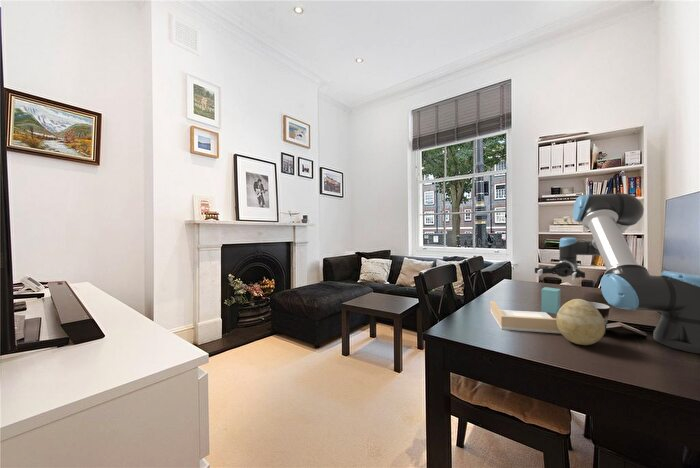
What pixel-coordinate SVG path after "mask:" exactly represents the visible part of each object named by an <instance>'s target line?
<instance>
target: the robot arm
mask: <svg viewBox="0 0 700 468" xmlns="http://www.w3.org/2000/svg"><path fill="white" fill-rule="evenodd" d="M644 209H645V208H644V205H643V203H642V202H641V200H640V199H638V198H637V197H636V196H634V195H632V194H629V193H625V192H621V193H619V192H618V193H602V194H601V193H600V194H599V193H598V194H583V195H579V196H577V198H576V199H575V201H574V204H573V211H572V212H573V213H572V217H573V221H575V222H577V223H582V225H583V227H584V228H585V229H586V230H587V229H588V230H589V232H590V233H591V236H592V240H588V241H587V240H585V241H584V240H578V238H577V237H561V238H560V239H559V244H558V247H559V259H558V260H559V261H558V263H556V264H555V265H554V266H551V267H550V266H548V265H546V266H543V267H541V266H540V267H535V268H534V274H536V275H537V277H540V276H542V275H544V274H552V275H557V276H559V277H563V278H567V277H569V276H571V280H572V281H575V280H576V279H580V278H582V279H586V272H585V271H582V270H580V269H579V268H578V266H579V264H578V261H577V259H578V257H577V256H600V257H601V260H602V262H603V264H604V267H605V269H606V270H605V271H604V273H603V276H602V277H601V279H600V283H599V284H600V287H601V288H600V289H601V293H602V296H603V298H604V300H605V301H606V302H607V303H608V305H610V307H613V308H615V309H623V310H626V311H627V310H628V311H635V310H636V311H648V312H649V311H650V312H661V316H660V319H659V321H658V323H657V325H655V328H654V330H653V337H652V338H653V340H654V341H656V342H658V343H660V345H663V346H666V347H668V348H672V349H675V350H680V351H684V352H688V353H693V354H699V355H700V274H699V275H698V274H692V273H687V272H680V271H671V270H664V271H662V272H661V275H652V274H650V273H649V271H648V269H647V267H645V266H643V265H642V264H639V263H638V262H637V260H636V258H635V256H634V255H633V253H632V250H631V248H630V247H629V244H628V243H627V241H626V238H625V236H624V235H623V234H624V233H625V232H626V231H627V229H629V228H630V227H632V226H634V225H636V224H637V223H638V222H639V221H640V220H641V219H642V218H643V215H644Z"/></svg>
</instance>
